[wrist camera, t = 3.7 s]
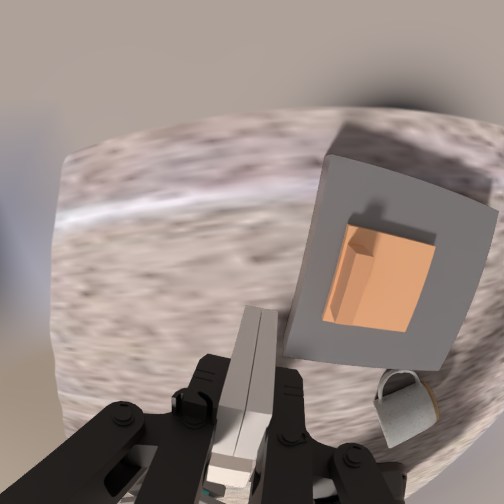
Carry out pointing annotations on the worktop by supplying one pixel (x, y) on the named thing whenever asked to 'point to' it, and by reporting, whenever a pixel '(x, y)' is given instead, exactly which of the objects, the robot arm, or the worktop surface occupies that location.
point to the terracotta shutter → (377, 279)
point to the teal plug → (229, 470)
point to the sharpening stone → (206, 500)
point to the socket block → (401, 224)
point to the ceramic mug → (405, 409)
